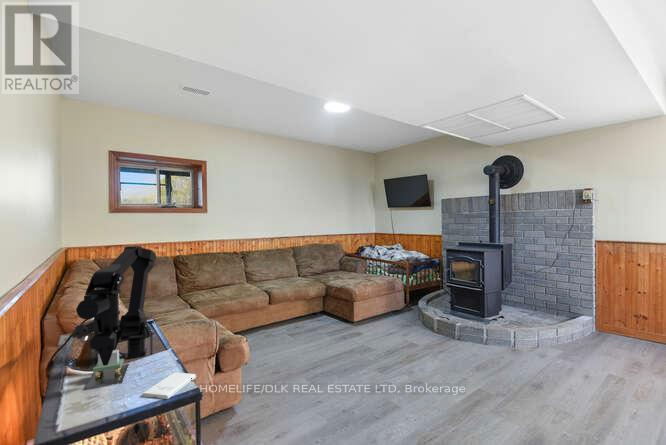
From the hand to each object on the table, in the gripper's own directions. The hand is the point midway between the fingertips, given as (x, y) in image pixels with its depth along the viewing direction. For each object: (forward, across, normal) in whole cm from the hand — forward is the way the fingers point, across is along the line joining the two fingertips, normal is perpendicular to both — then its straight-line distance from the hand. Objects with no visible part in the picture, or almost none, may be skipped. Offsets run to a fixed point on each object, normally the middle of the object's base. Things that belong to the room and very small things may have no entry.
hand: (108, 359), depth 101 cm
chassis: (+6, 0, 0) cm, 6 cm away
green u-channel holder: (+2, 0, 0) cm, 2 cm away
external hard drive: (+6, +16, +18) cm, 25 cm away
